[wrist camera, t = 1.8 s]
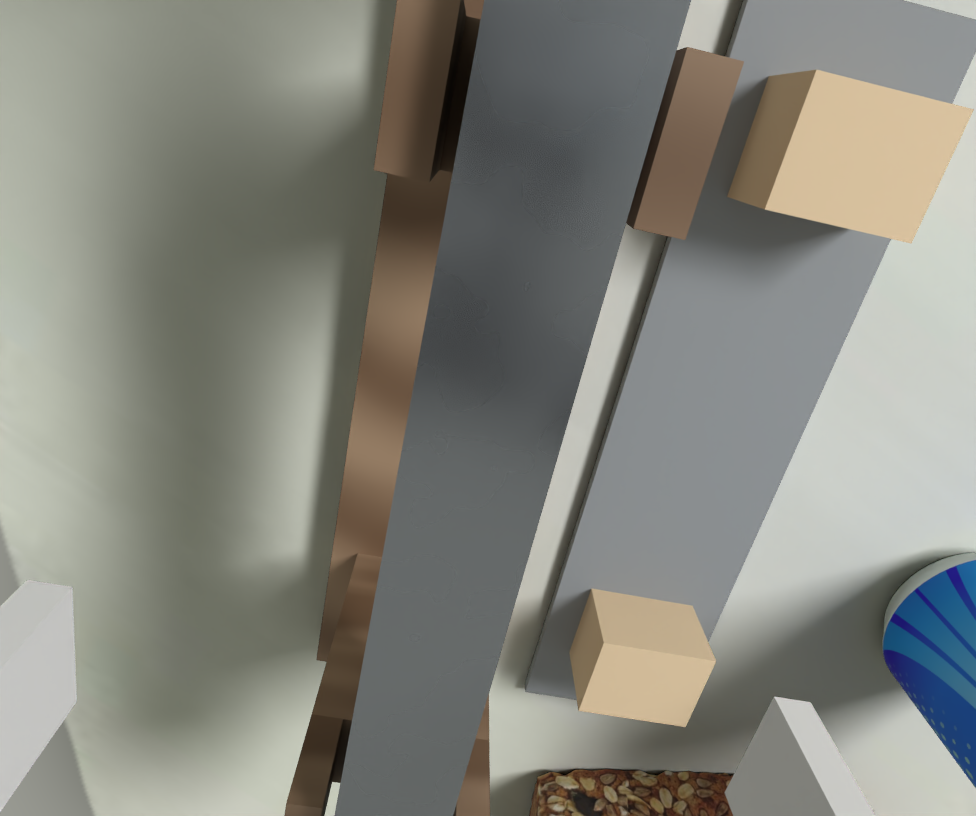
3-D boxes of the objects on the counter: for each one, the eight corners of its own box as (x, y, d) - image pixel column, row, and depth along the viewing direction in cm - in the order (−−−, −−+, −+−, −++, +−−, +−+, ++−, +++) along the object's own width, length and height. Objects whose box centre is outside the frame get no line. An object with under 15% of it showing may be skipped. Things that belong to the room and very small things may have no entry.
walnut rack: (430, -82, 21) (361, -342, 9) (671, -19, 22) (901, -182, 10) (323, 637, 33) (232, 934, 21) (481, 662, 33) (480, 963, 22)
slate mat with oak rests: (754, -35, 21) (809, -66, 18) (978, 24, 22) (1075, 7, 19) (524, 683, 34) (529, 752, 30) (672, 707, 35) (695, 776, 31)
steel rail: (526, -197, 12) (545, -333, 8) (683, -153, 12) (768, -266, 9) (331, 848, 24) (304, 981, 20) (413, 859, 24) (401, 992, 20)
